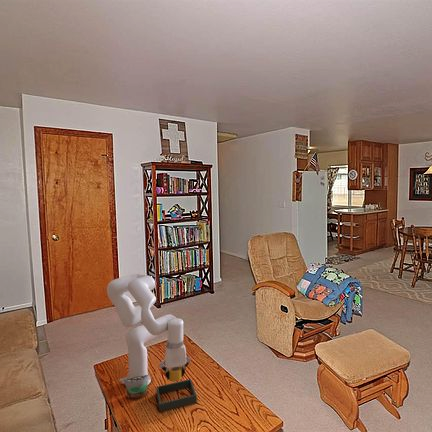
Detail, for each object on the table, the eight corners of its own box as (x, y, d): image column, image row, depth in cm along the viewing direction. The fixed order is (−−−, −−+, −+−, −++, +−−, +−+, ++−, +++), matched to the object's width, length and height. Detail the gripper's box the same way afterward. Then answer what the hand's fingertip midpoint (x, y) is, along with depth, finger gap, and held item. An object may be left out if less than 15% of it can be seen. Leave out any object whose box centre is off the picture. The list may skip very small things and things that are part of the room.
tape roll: (169, 382, 170) (169, 373, 170) (167, 375, 176) (167, 366, 176) (182, 379, 173) (182, 370, 173) (180, 373, 179) (180, 364, 178)
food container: (124, 403, 170) (123, 384, 169) (123, 396, 176) (123, 378, 175) (150, 397, 176) (150, 378, 175) (149, 390, 181) (149, 372, 180)
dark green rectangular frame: (159, 412, 165) (159, 404, 164) (156, 393, 179) (156, 386, 178) (196, 402, 172) (196, 395, 172) (191, 385, 186) (190, 379, 186)
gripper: (158, 350, 165) (157, 384, 167) (194, 344, 173) (193, 377, 175) (156, 343, 172) (156, 376, 174) (191, 337, 180) (191, 369, 182)
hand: (175, 376), depth 175 cm, fingers closed on tape roll, 6 cm apart
